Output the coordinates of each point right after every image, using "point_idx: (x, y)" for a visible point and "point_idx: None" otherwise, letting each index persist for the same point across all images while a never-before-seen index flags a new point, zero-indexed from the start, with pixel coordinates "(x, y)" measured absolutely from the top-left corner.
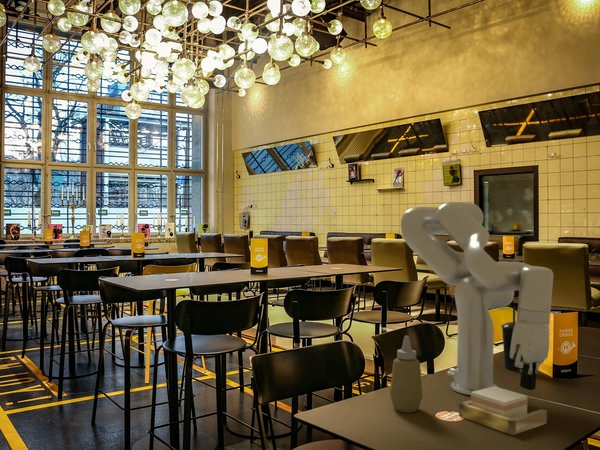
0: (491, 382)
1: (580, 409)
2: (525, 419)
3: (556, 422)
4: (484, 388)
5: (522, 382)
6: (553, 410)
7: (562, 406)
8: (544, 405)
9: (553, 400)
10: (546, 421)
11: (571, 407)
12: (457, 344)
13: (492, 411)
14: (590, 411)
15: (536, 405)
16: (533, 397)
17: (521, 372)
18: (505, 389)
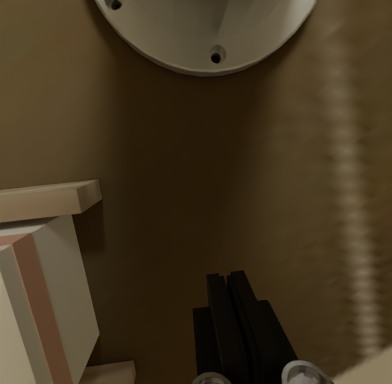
0: (249, 12)
1: (357, 329)
2: None
3: (175, 376)
4: (182, 28)
5: (194, 319)
6: (271, 303)
7: (337, 288)
8: (293, 257)
9: (376, 233)
10: (134, 379)
11: (353, 306)
12: None
13: None
14: (364, 352)
15: (267, 245)
16: (348, 174)
17: (220, 353)
18: (18, 328)
